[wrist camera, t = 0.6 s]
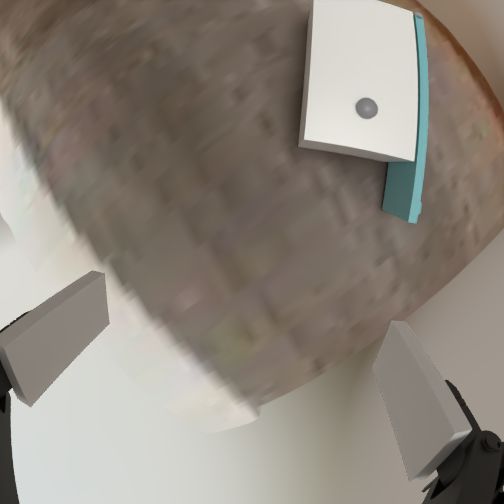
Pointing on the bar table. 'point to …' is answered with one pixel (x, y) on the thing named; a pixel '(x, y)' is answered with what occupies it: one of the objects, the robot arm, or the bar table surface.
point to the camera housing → (360, 80)
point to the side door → (412, 173)
